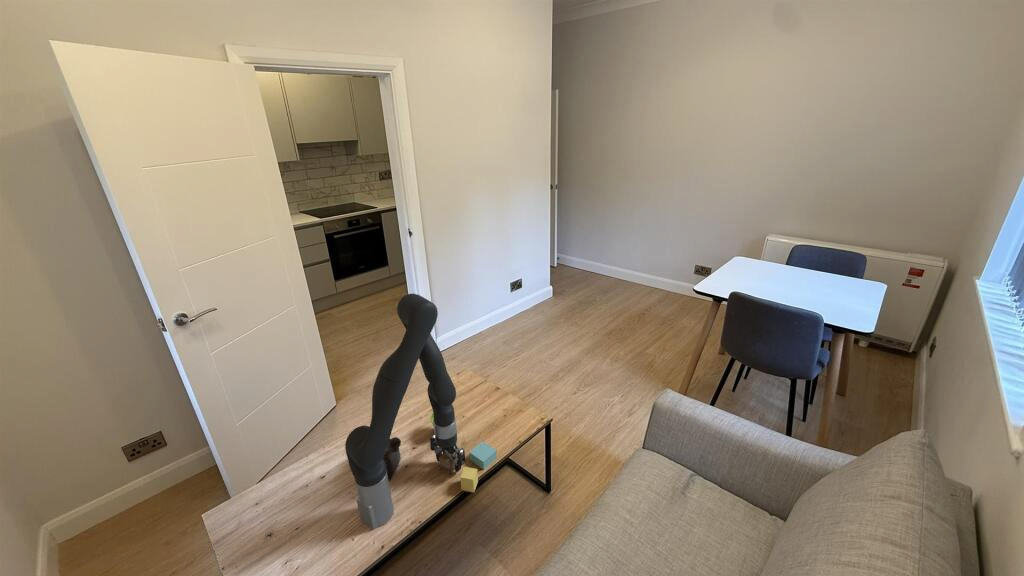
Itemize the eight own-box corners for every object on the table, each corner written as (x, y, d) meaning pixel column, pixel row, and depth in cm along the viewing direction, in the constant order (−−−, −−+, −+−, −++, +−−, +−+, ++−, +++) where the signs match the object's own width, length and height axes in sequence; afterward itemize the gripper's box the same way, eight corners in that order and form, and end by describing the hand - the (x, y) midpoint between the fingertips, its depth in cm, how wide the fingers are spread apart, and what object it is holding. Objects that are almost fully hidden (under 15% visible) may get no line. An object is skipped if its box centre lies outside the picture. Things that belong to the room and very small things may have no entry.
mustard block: (474, 492, 138) (473, 479, 136) (461, 490, 139) (460, 477, 137) (477, 481, 142) (477, 469, 140) (465, 479, 143) (464, 466, 141)
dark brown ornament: (361, 479, 143) (352, 440, 136) (374, 455, 153) (367, 417, 146) (404, 484, 142) (397, 444, 134) (414, 459, 152) (409, 421, 144)
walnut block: (449, 475, 145) (448, 462, 142) (440, 469, 147) (438, 457, 145) (457, 466, 148) (456, 454, 146) (448, 461, 151) (447, 449, 148)
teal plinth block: (483, 470, 147) (483, 461, 145) (470, 460, 151) (469, 452, 149) (496, 458, 152) (496, 450, 150) (483, 449, 156) (482, 441, 154)
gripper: (422, 429, 141) (426, 463, 148) (454, 445, 134) (457, 481, 141) (437, 416, 147) (440, 450, 154) (468, 431, 140) (471, 466, 147)
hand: (448, 465), depth 147 cm, fingers open, 8 cm apart
